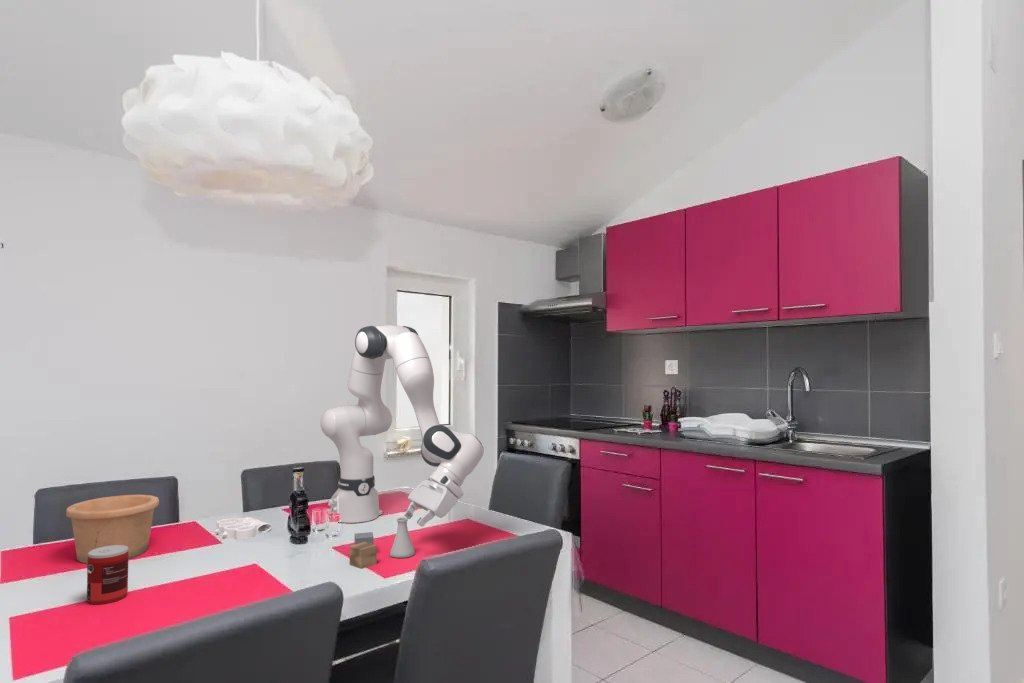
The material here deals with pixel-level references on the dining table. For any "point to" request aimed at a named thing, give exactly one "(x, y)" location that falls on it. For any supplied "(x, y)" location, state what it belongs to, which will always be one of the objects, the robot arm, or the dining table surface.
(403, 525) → the flask
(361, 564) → the walnut block
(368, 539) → the charcoal block
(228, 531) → the white holed piece
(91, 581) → the canned food
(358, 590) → the dining table surface
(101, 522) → the pottery
